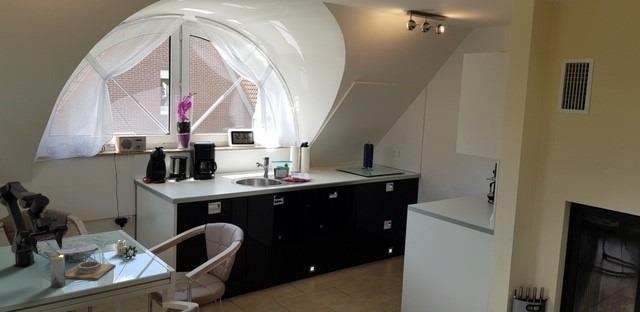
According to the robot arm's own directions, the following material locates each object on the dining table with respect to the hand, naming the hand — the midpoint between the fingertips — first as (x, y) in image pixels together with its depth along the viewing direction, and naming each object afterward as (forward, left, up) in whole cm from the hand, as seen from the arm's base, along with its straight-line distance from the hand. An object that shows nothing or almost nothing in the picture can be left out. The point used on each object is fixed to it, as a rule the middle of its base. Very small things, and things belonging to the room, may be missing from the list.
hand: (49, 251), depth 207 cm
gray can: (+6, -4, -13) cm, 15 cm away
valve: (+16, +34, -13) cm, 40 cm away
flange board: (+10, +12, -13) cm, 20 cm away
